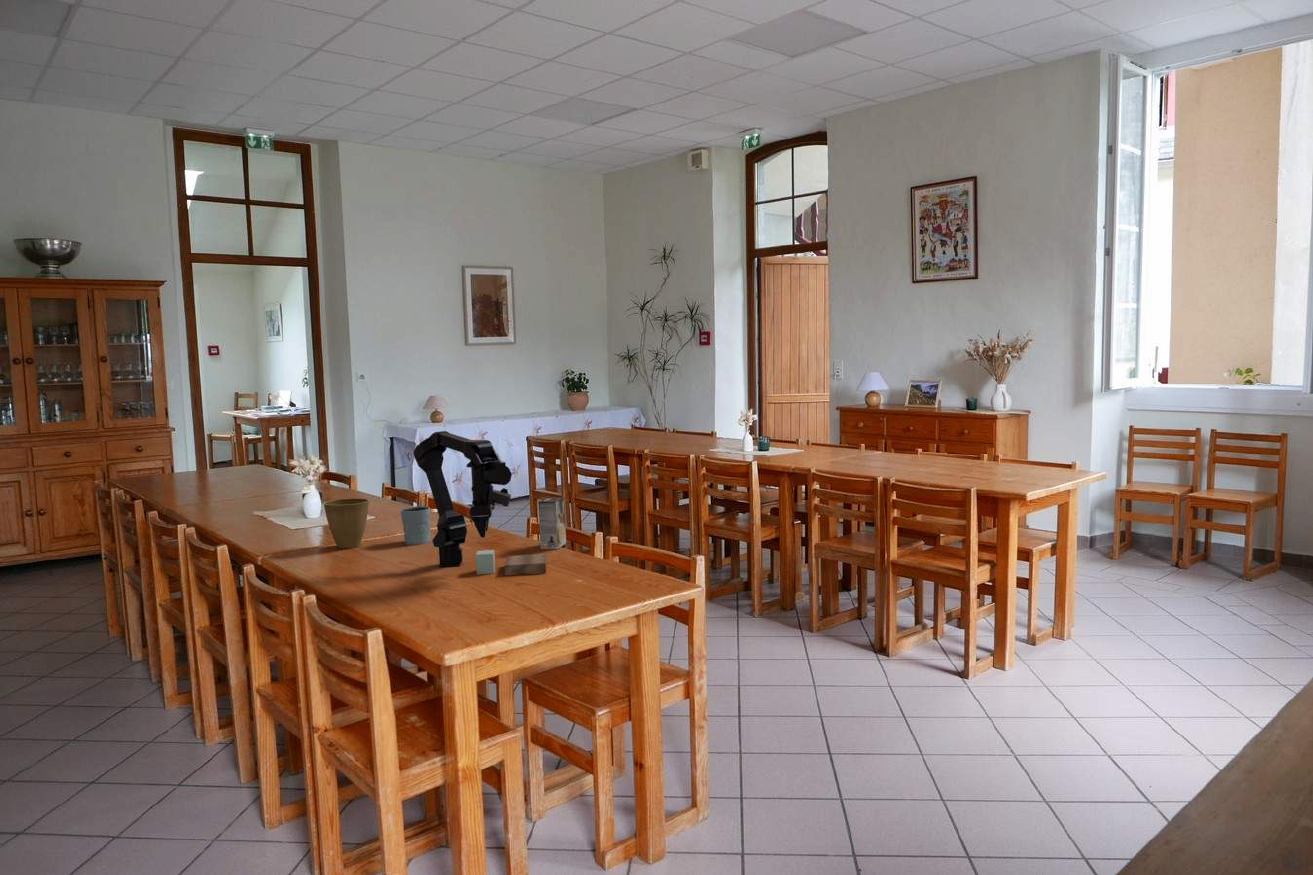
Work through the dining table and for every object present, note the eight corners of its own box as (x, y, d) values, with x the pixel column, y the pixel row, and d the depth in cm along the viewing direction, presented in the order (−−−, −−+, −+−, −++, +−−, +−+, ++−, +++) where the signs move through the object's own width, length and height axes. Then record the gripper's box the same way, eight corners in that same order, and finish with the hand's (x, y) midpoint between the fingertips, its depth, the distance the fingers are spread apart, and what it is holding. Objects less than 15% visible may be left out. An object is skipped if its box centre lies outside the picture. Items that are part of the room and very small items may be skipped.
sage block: (477, 574, 261) (475, 554, 260) (478, 570, 266) (477, 550, 265) (494, 573, 261) (493, 553, 261) (495, 569, 266) (494, 549, 266)
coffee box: (548, 543, 301) (546, 496, 299) (566, 543, 299) (564, 497, 298) (540, 549, 292) (537, 501, 290) (558, 549, 290) (556, 501, 289)
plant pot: (353, 552, 296) (350, 505, 295) (317, 550, 301) (314, 504, 300) (380, 542, 310) (377, 498, 309) (345, 540, 315) (342, 497, 314)
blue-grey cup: (427, 544, 304) (425, 510, 303) (398, 545, 304) (396, 511, 303) (435, 538, 314) (433, 505, 313) (407, 539, 314) (405, 506, 313)
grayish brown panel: (505, 575, 258) (504, 565, 258) (507, 565, 270) (507, 556, 270) (546, 572, 260) (545, 563, 259) (546, 563, 272) (546, 553, 271)
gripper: (507, 486, 253) (509, 539, 254) (510, 477, 271) (512, 526, 273) (468, 488, 251) (470, 541, 253) (474, 478, 270) (476, 528, 272)
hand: (484, 534), depth 263 cm, fingers open, 9 cm apart
